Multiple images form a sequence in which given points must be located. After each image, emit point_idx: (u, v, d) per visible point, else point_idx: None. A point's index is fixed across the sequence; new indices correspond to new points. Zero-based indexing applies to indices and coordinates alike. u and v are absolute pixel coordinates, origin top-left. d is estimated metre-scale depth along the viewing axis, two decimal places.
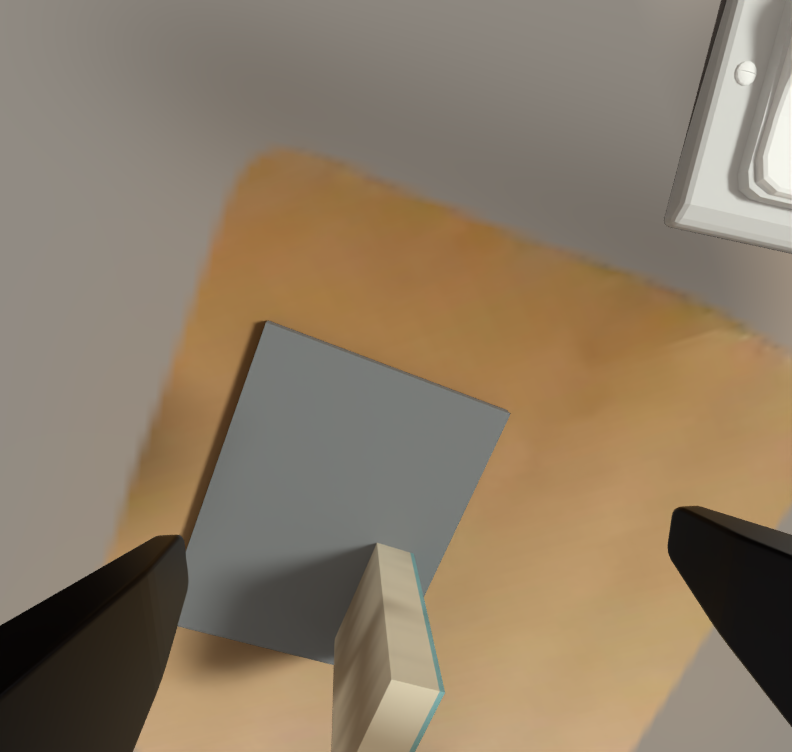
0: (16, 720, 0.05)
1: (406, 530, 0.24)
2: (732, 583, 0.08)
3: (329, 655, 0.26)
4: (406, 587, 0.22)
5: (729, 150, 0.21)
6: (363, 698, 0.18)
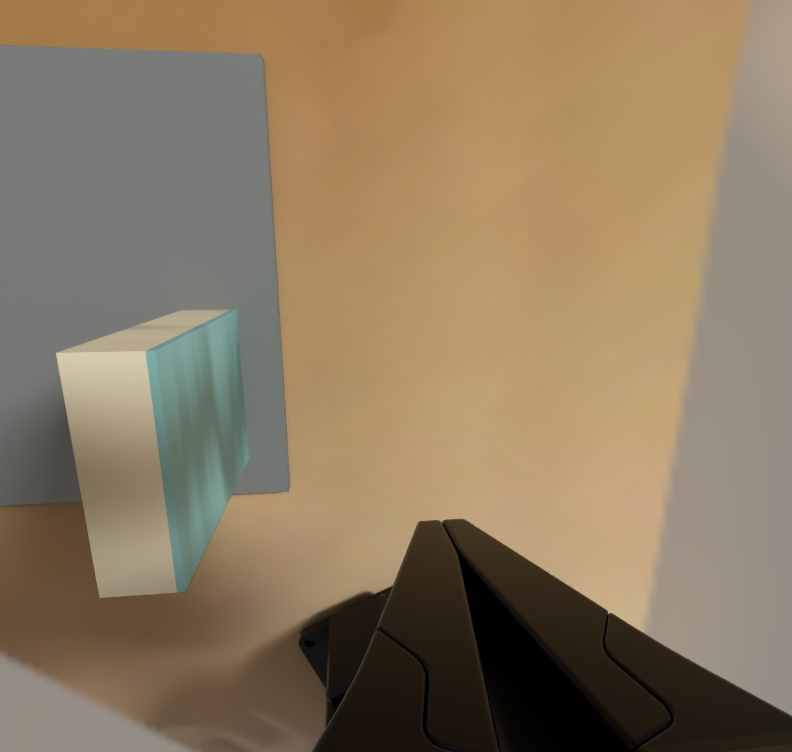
0: None
1: (209, 279, 0.18)
2: None
3: None
4: (191, 320, 0.15)
5: None
6: None
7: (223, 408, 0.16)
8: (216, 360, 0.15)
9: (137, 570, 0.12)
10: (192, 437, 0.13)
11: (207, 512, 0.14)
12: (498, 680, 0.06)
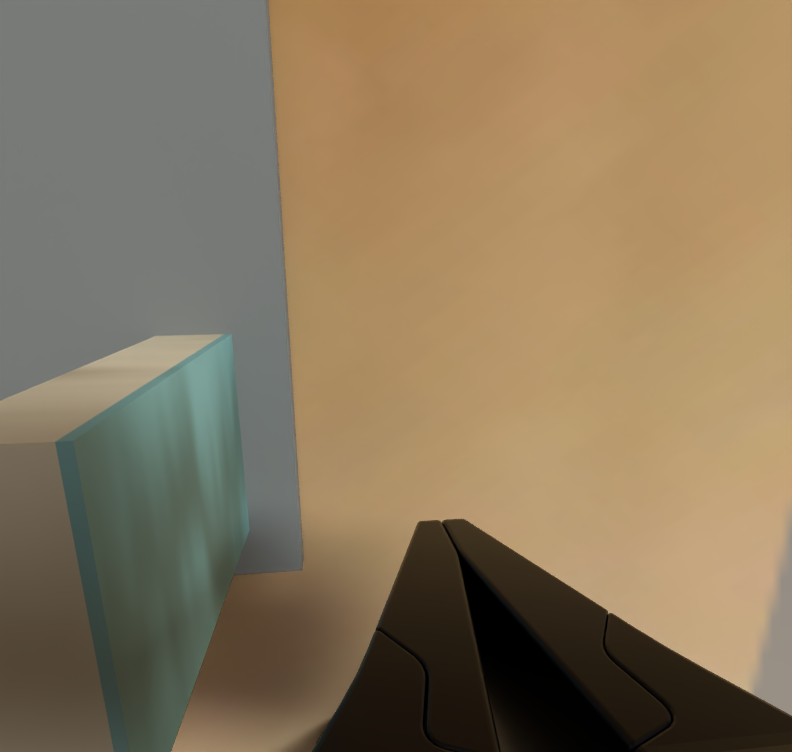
0: None
1: (193, 294, 0.13)
2: None
3: None
4: (164, 355, 0.10)
5: None
6: None
7: (212, 480, 0.11)
8: (201, 414, 0.10)
9: None
10: (158, 554, 0.08)
11: (186, 655, 0.09)
12: (498, 680, 0.06)
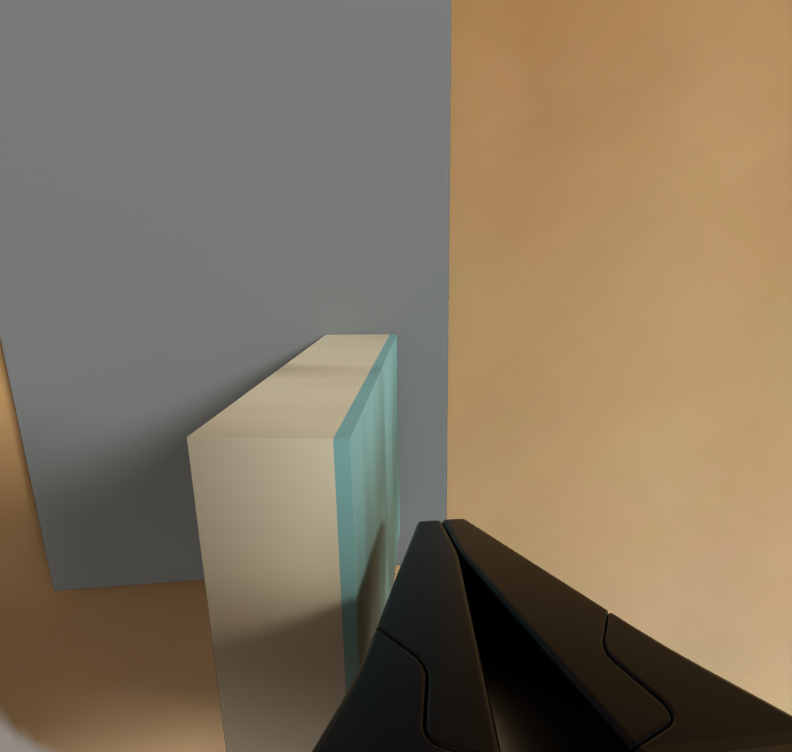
0: None
1: (364, 293, 0.13)
2: None
3: None
4: (353, 354, 0.11)
5: None
6: None
7: (389, 478, 0.11)
8: (387, 413, 0.11)
9: None
10: (373, 550, 0.08)
11: None
12: (498, 680, 0.06)
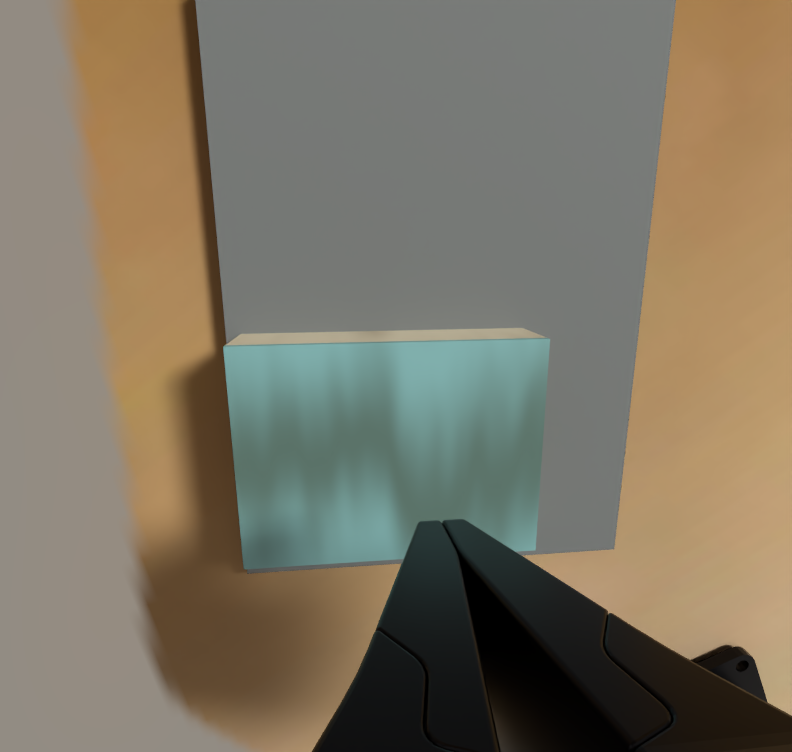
0: None
1: (565, 288, 0.14)
2: None
3: None
4: (432, 336, 0.13)
5: None
6: None
7: (428, 451, 0.13)
8: (418, 390, 0.12)
9: None
10: (303, 448, 0.12)
11: (328, 535, 0.13)
12: (498, 680, 0.06)
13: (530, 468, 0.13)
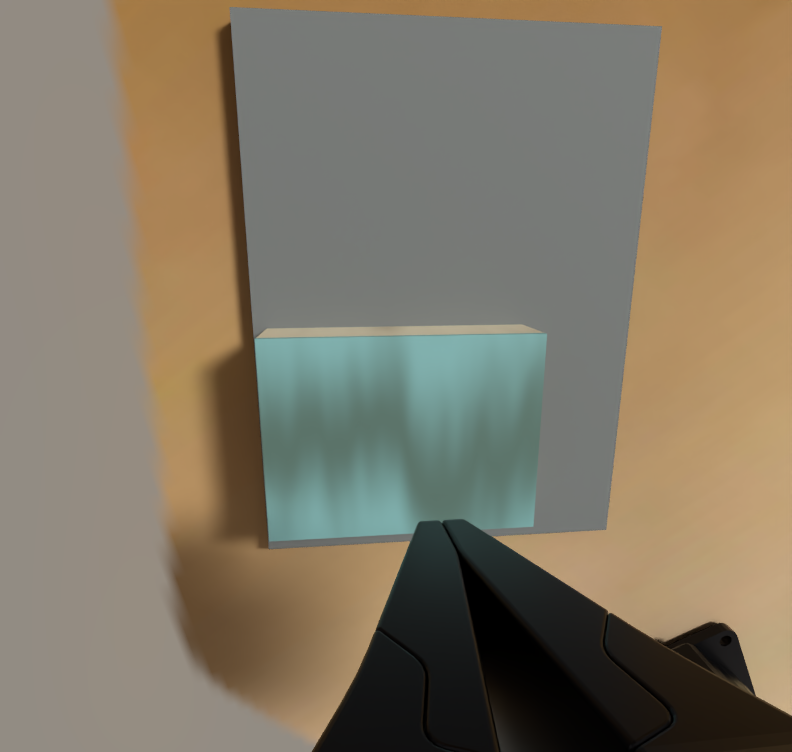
0: None
1: (561, 289, 0.15)
2: None
3: None
4: (441, 331, 0.14)
5: None
6: None
7: (437, 434, 0.14)
8: (428, 379, 0.14)
9: None
10: (324, 431, 0.14)
11: (346, 510, 0.14)
12: (498, 680, 0.06)
13: (529, 451, 0.14)
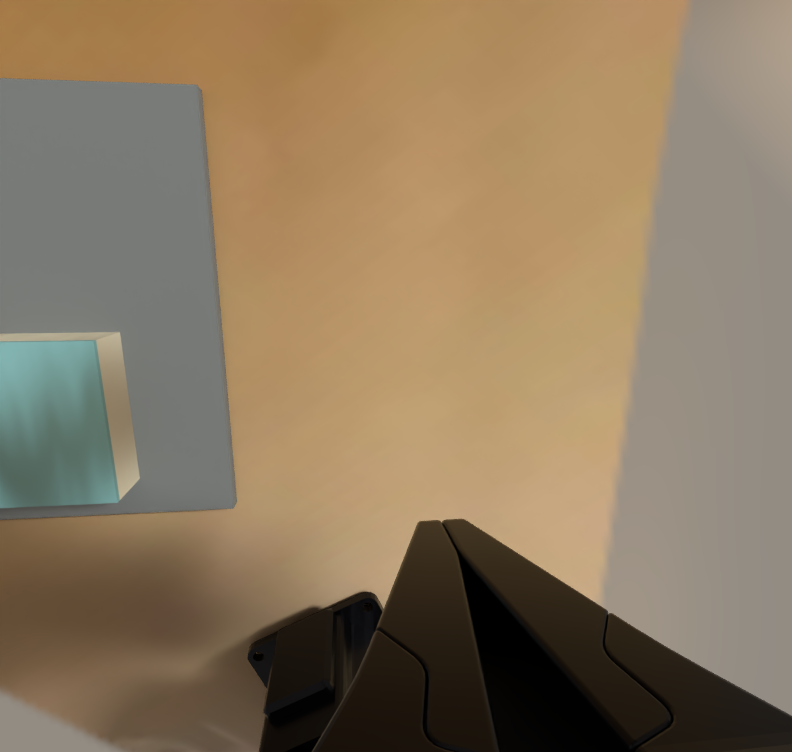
0: None
1: (150, 302, 0.18)
2: None
3: (148, 501, 0.20)
4: (17, 338, 0.17)
5: None
6: None
7: (11, 424, 0.17)
8: None
9: None
10: None
11: None
12: (498, 680, 0.06)
13: (99, 439, 0.17)
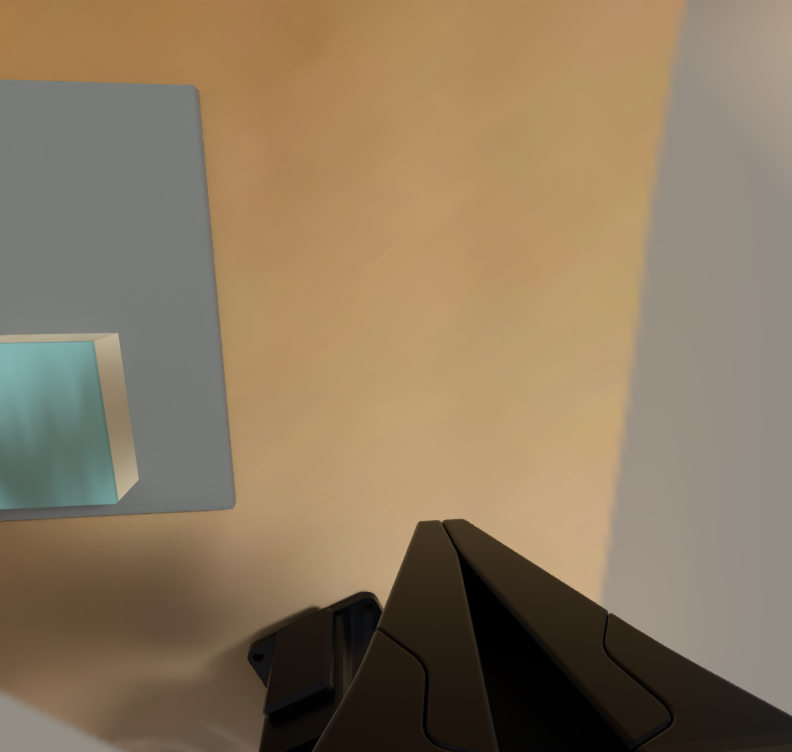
0: None
1: (148, 303, 0.18)
2: None
3: (147, 502, 0.20)
4: (15, 339, 0.17)
5: None
6: None
7: (9, 426, 0.17)
8: None
9: None
10: None
11: None
12: (498, 680, 0.06)
13: (97, 439, 0.17)
